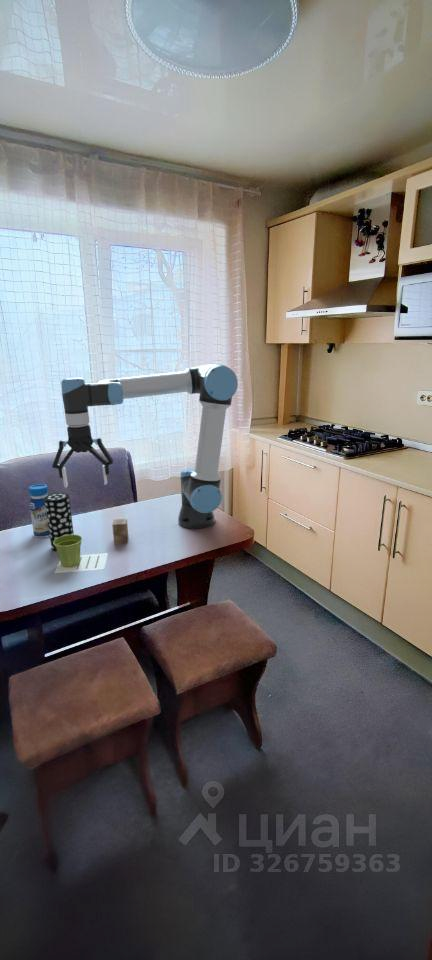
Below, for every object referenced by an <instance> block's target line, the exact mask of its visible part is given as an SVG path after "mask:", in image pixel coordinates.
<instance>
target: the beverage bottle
mask: <svg viewBox="0 0 432 960" xmlns="http://www.w3.org/2000/svg"><path fill="white" fill-rule="evenodd" d="M28 493H29V496H30V499H29V500H28V501H29V502H28V505H29V514H30V518H31V524H32V525H31V526H32V532H33V536H34V537H35V538H40V539H42V538H50V534H49V527H48V520H47V513H46V506H45V499H44V498H45V497H46V496H48V495H49V489H48V485H47V484H45V483H44V484H43V483H40V484H37V483H36V484H33V485H31V486H29V487H28Z"/></svg>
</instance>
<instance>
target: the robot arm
mask: <svg viewBox="0 0 432 960" xmlns="http://www.w3.org/2000/svg"><path fill="white" fill-rule="evenodd" d="M60 385H61V386H60V387H61V396H62V402H63V408H64V409H63V410H64V416H65V423H66V426H67V427H66V431H67V438H68V439H67V440H64V439H60V440H59V442H58V450H57V452H56V455H55V457H54V460H53V462H52V465H51V467H52V468H53V469H57V470H58V475H59V478H60V479H62V482H63V487H64V488H67V487H68V486H69V483H68V482H69V481H68V476H67V469H66V467H65V465H66V463H67V462H68V461H69V459H70V457H71V456H72V455H73V454H74V452H75V453H77V454H80V453H87V452H89V453H90V454H92V455H93V456H94V458H96V459H97V460H98V461H99V462H100V463H101V464H103V465H102V468H101V469H102V475H103V476H102V477H103V482H104V486H106V485H107V484H108V476H107V475H109V474H110V467H109V466H110V465H112V464H113V463H114V459H113V457H112V455H111V454H110V452H108V450H107V448H106V447H105V445H104V444H103V441H102V437H101V436H99V437H97V438H93V437H92V431H91V430H92V429H91V425H90V415H89V407H96V406H97V407H99V406H100V407H101V406H116V405H122V404H123V403H124V400H125V399H132V398H133V399H134V398H142V397H151V396H161V395H169V394H178V393H188V394H189V395H191V394H192V395H193V394H199V398H198V399H199V400H198V402H199V403H200V404H201V406H202V410H201V417H200V425H199V434H198V443H197V450H196V460H195V467H190V468H185V469H182V470H181V472H180V490H181V507H180V510H179V513H178V516H177V517H178V521H177V522H178V524H179V526H181V527H183V528H186V529H195V530H196V529H204V528H208V527H210V526H212V525H214V524H215V514H214V512H215V510H216V509H218V508H219V507H220V505H221V503H222V501H223V500H222V499H223V494H222V492H221V489H220V487H221V481H222V476H220V474H219V473H218V472H219V464H220V459H221V457H220V456H221V450H222V443H223V437H224V427H225V420H226V413H227V410H228V409H229V408H230V407H231V406H232V400H233V396H234V395H235V394H236V392H237V391H238V386H239V381H238V377H237V375H236V373H235V372H234V371H233V369H231V368H230V367H228V366H226V365H224V364H218V363H217V364H215V363H209V364H204V365H203V364H202V365H199V366H195V367H194V366H193V367H187V368H186V369H184V370H183V371H176V372H174V371H173V372H167V373H159V374H158V373H157V374H149V375H137V376H131V377H130V376H129V377H128V376H127V377H120V378H112V379H105V378H103V379H99V380H97V381H96V382H95V383H94V382H92V383H88V382H87V383H86V381H85V378H84V377H69V378H63V379H62V380H61V382H60ZM93 443H94V444H95V445H97V446H98V448H99V449H100V452H101V453H102V454H103V455H104V456H102V454H100V453H99V452H98V451H97V450H96V449H95V447H94V446H92V445H93ZM66 446H69V447H70V449H69V451H68V453H67V454H66V455H65V457H64V458H63V460H62V461H61V462H60V459H61V457H62V454H63V451H64V448H65V447H66ZM104 457H105V458H104ZM59 462H60V463H59Z"/></svg>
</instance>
